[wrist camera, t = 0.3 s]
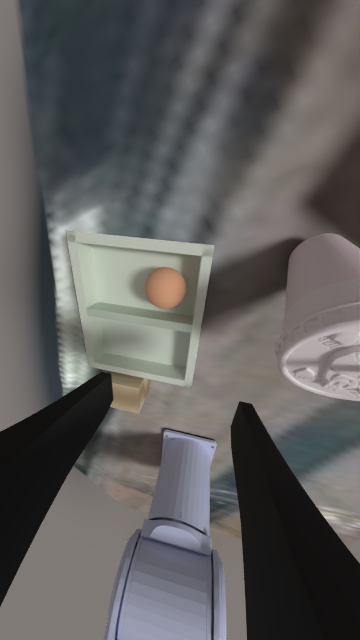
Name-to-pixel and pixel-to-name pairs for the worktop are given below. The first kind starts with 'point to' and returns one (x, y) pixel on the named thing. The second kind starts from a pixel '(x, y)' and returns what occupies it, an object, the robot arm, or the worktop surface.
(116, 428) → the worktop surface
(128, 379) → the maple block
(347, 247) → the smoothie
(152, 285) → the terracotta ball
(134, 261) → the tray
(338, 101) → the worktop surface
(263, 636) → the robot arm
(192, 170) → the worktop surface
